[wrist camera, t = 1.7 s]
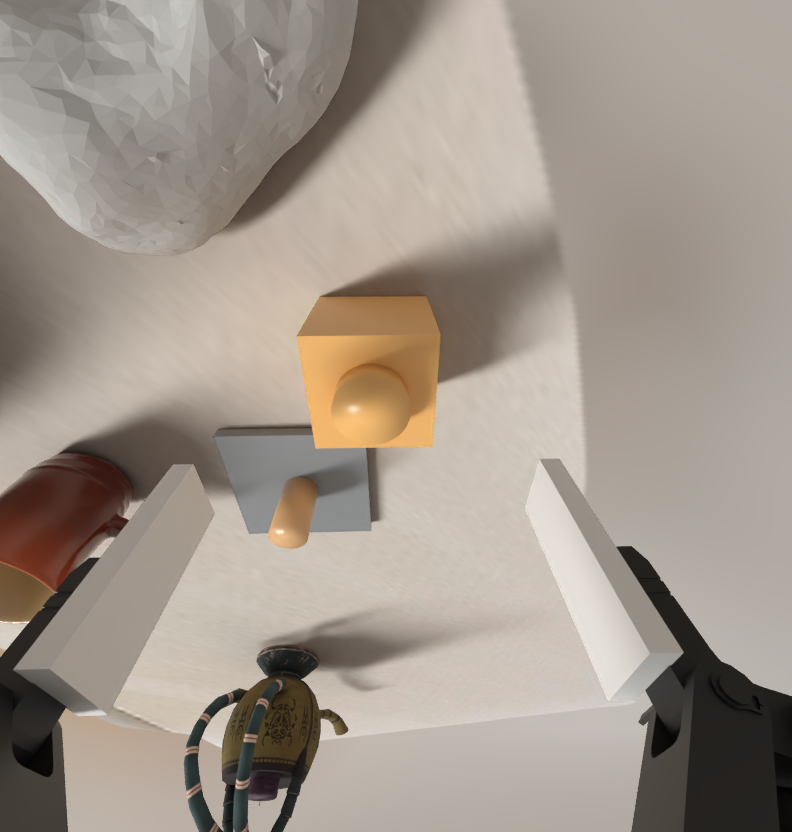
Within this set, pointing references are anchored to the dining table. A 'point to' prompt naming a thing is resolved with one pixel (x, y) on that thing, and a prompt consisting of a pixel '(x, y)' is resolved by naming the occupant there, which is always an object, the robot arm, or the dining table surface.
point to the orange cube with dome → (371, 371)
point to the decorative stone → (162, 106)
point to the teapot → (262, 740)
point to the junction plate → (291, 459)
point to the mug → (55, 527)
